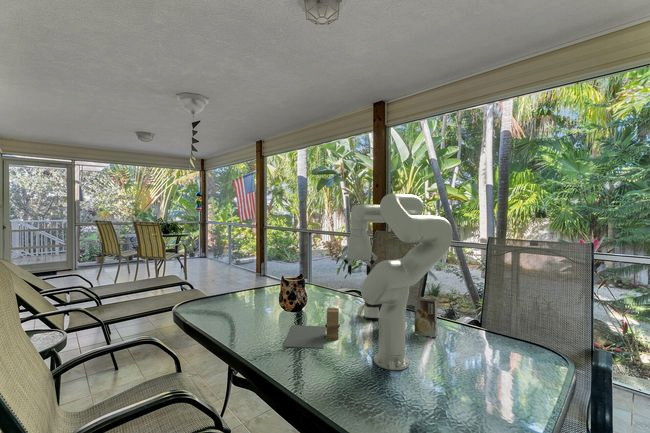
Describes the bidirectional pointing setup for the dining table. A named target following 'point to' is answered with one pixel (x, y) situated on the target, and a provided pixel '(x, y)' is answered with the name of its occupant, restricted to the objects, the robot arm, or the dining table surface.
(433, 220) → the robot arm
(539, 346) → the dining table surface
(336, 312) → the block
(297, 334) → the mat
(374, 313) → the spread jar
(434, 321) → the coffee box
